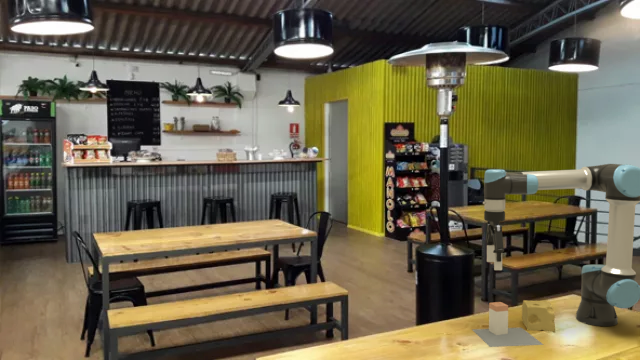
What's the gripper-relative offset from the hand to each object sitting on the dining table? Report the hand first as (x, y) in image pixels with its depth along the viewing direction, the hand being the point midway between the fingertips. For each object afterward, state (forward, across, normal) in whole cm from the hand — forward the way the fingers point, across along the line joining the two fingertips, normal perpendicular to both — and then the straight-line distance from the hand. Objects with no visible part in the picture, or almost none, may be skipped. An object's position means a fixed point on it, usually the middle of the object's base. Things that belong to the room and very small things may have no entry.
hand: (494, 265), depth 203 cm
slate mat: (+27, +4, +4) cm, 27 cm away
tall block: (+26, -1, +2) cm, 26 cm away
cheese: (+27, -9, +19) cm, 34 cm away
